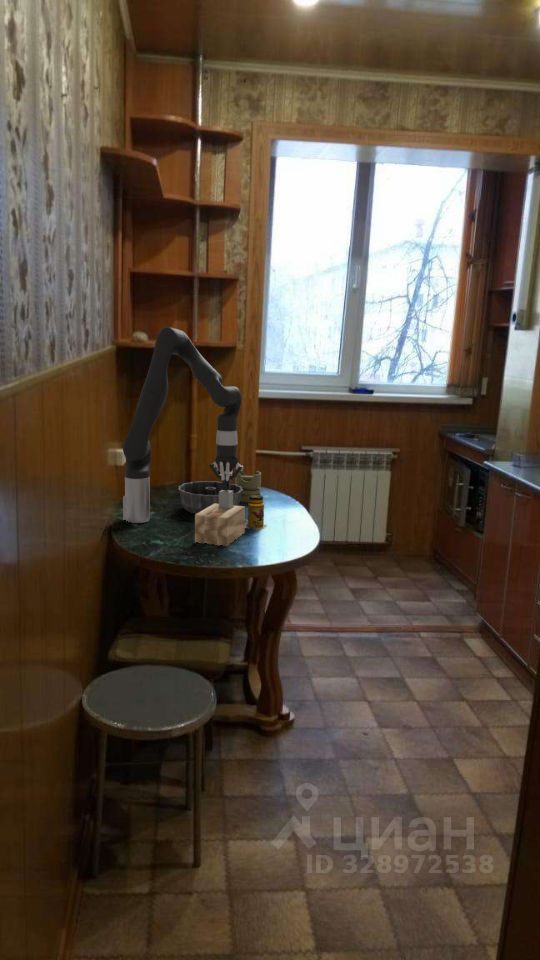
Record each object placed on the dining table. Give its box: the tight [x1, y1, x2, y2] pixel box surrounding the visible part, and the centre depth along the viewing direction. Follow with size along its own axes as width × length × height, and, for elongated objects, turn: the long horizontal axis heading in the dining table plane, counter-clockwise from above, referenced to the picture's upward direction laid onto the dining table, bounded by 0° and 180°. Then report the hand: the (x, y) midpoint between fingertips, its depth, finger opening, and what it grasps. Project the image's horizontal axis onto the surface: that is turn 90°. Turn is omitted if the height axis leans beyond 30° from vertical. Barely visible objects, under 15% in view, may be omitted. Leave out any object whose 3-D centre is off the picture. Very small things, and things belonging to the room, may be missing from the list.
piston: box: [234, 470, 262, 503], centre depth 313 cm, size 11×12×11 cm
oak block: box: [194, 503, 246, 547], centre depth 254 cm, size 12×18×10 cm, turn 162°
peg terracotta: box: [208, 512, 223, 516], centre depth 249 cm, size 4×4×8 cm
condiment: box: [245, 495, 267, 530], centre depth 270 cm, size 7×8×12 cm
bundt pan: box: [178, 480, 243, 515], centre depth 291 cm, size 26×26×10 cm
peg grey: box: [219, 490, 233, 510], centre depth 257 cm, size 4×4×8 cm
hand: (226, 490), depth 256 cm, fingers closed
